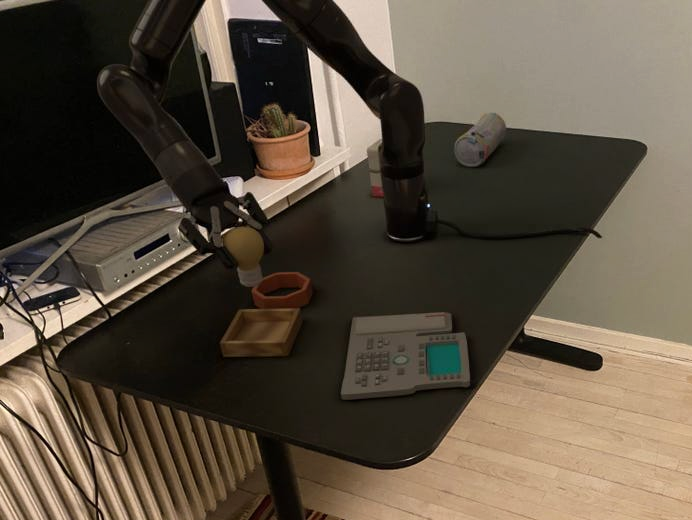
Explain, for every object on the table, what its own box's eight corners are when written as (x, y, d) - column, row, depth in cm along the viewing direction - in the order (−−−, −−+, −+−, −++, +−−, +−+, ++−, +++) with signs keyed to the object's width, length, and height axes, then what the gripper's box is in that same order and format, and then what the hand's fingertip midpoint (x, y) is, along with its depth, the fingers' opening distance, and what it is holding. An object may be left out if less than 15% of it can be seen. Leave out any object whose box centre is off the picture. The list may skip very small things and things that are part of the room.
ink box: (389, 198, 178) (384, 150, 171) (371, 196, 179) (365, 149, 173) (403, 185, 185) (398, 139, 178) (386, 183, 186) (380, 137, 179)
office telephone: (350, 310, 129) (462, 302, 130) (352, 323, 131) (463, 315, 131) (339, 387, 110) (471, 377, 111) (341, 401, 111) (471, 391, 112)
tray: (302, 321, 131) (300, 308, 130) (288, 356, 122) (285, 342, 121) (242, 322, 132) (239, 309, 130) (223, 357, 123) (219, 343, 121)
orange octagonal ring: (316, 285, 143) (313, 271, 141) (304, 311, 134) (301, 297, 133) (264, 286, 143) (261, 272, 141) (250, 312, 135) (246, 298, 133)
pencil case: (483, 170, 192) (482, 134, 186) (453, 167, 194) (451, 131, 189) (508, 145, 208) (507, 111, 202) (479, 142, 210) (478, 109, 205)
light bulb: (279, 277, 124) (267, 222, 118) (258, 295, 119) (244, 239, 113) (247, 272, 126) (234, 218, 120) (225, 289, 121) (210, 234, 115)
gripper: (156, 177, 110) (223, 267, 111) (233, 150, 120) (294, 233, 121) (146, 203, 116) (210, 288, 117) (221, 175, 125) (279, 254, 126)
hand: (252, 259), depth 119 cm, fingers closed on light bulb, 6 cm apart
